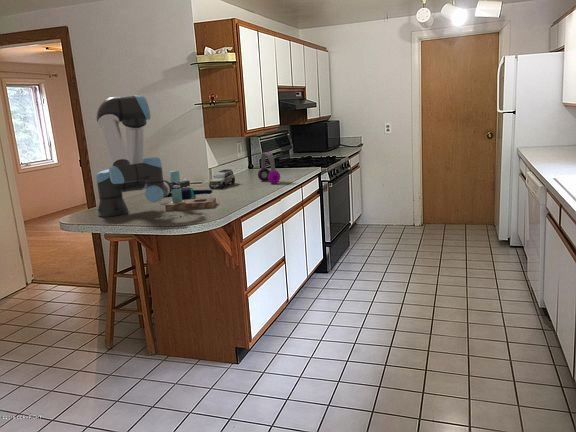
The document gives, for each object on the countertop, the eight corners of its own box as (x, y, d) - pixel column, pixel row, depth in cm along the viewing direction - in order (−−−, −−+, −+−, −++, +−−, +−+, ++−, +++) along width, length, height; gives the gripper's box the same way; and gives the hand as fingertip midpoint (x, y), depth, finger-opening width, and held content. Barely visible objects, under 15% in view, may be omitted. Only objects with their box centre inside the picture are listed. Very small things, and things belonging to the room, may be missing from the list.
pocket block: (166, 212, 256) (165, 204, 255) (172, 208, 268) (171, 200, 267) (212, 209, 255) (211, 201, 254) (216, 205, 267) (215, 197, 266)
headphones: (257, 181, 341) (254, 152, 336) (269, 179, 344) (266, 150, 340) (269, 184, 322) (266, 153, 318) (281, 183, 326) (279, 152, 321)
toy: (162, 199, 304) (156, 207, 274) (160, 186, 302) (154, 192, 273) (213, 194, 307) (212, 201, 278) (212, 181, 306) (211, 186, 277)
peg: (171, 203, 258) (167, 172, 255) (174, 201, 263) (170, 171, 260) (181, 202, 258) (177, 171, 255) (183, 200, 263) (180, 170, 260)
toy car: (207, 190, 321) (205, 174, 319) (219, 183, 344) (217, 169, 342) (226, 189, 318) (225, 173, 316) (237, 182, 342) (235, 168, 340)
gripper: (136, 198, 234) (149, 191, 255) (189, 195, 233) (198, 187, 254) (134, 183, 232) (147, 176, 253) (187, 179, 232) (196, 173, 252)
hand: (173, 182), depth 254 cm, fingers open, 13 cm apart
